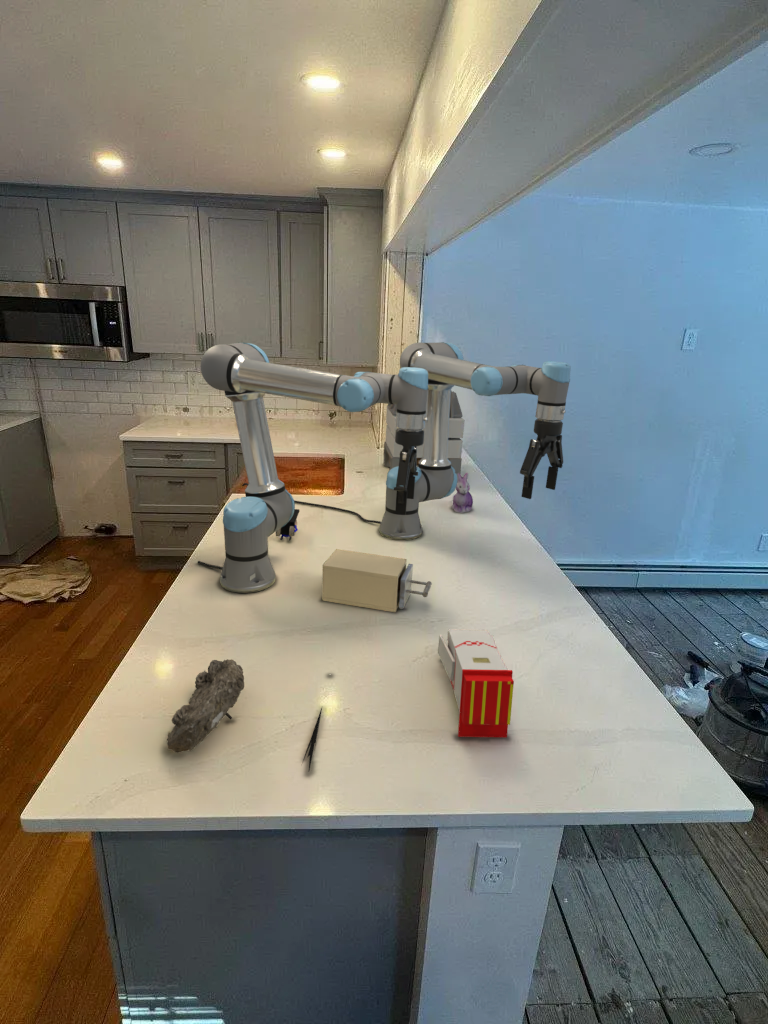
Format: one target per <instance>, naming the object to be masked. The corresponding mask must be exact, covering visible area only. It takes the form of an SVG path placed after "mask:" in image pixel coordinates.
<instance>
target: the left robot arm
mask: <svg viewBox="0 0 768 1024" xmlns="http://www.w3.org/2000/svg"><path fill="white" fill-rule="evenodd" d="M199 365H200V372H201V376H202V377H203V380H204V382H206V384H208V385H209V386H210V387H211V388H213V389H215V390H218V391H223V392H224V396H225V397H226V398H227V399H228V400H230V402H231V403H232V407H233V412H234V417H235V422H236V427H237V428H236V429H237V432H238V438H239V443H240V448H241V452H242V453H241V454H242V457H243V463H244V467H245V473H246V477H247V484H249V485H248V486H247V485H246V488H245V489H244V494H245V496H242V497H240V498H239V497H237V498H235V499H234V498H233V499H232V500H230V501H229V502H228V503H227V504H226V505H225V506H224V508H223V512H222V513H223V514H222V524H223V534H224V535H223V536H224V553H225V554H224V555H225V557H224V558H225V559H224V561H223V563H222V566H219V565H216V564H215V565H214V564H210V563H207V562H203V561H201V560H197V564H199V565H201V566H204V567H207V568H211V569H216V570H220V571H221V572H220V575H219V583H220V586H221V587H222V588H223V589H224V590H226V591H228V592H232V593H238V594H249V593H257V592H260V591H264V590H266V589H268V588H270V587H272V586H273V585H274V584H275V582H276V571H275V568H274V566H273V563H272V561H271V558H270V556H269V537H270V536H272V535H273V534H275V533H276V531H277V530H278V529H280V528H282V527H283V526H285V525H286V524H287V523H288V522H289V520H290V519H291V518H292V516H293V514H294V510H295V509H296V505H295V504H296V503H294V501H295V499H294V497H293V495H292V494H291V493H290V492H289V491H288V489H286V486H285V485H286V484H285V482H284V481H282V480H280V479H279V477H278V470H277V466H276V465H277V464H276V459H275V456H274V455H275V454H274V449H273V444H272V443H273V442H272V437H271V433H270V428H269V422H268V416H267V412H266V406H265V400H264V396H265V395H273V396H279V397H284V398H291V399H296V400H301V401H305V402H307V401H308V402H313V403H318V404H325V405H329V406H336V407H340V408H342V409H343V410H344V411H346V412H349V413H360V412H363V411H366V410H367V409H368V408H370V407H372V406H374V405H376V404H387V405H388V404H396V405H397V414H396V427H397V429H396V433H395V442H396V443H397V444H399V445H402V446H403V449H402V451H400V460H399V467H398V475H397V482H396V487H394V490H395V491H397V494H396V510H395V514H401V515H406V505H407V499H414V488H415V476H418V472H416V471H417V467H418V466H417V446H421V445H422V444H423V443H424V431H423V430H422V429H424V428H425V421H427V420H428V419H427V417H425V415H426V414H425V413H426V404H427V393H428V372H427V370H425V369H423V368H415V367H403V368H401V367H400V368H399V371H398V373H397V374H391V373H390V374H389V373H380V372H372V371H357V372H355V373H354V375H353V376H352V375H351V376H350V375H346V374H339V373H334V372H328V371H322V370H315V369H311V368H303V367H298V366H291V365H284V364H279V363H273V362H270V360H269V358H268V356H267V353H266V352H265V351H264V350H263V349H261V347H260V346H258V345H256V344H254V343H251V342H236V343H224V344H223V343H222V344H216V345H212V347H210V348H208V349H207V350H205V352H204V353H203V355H202V357H201V360H200V364H199ZM400 485H402V486H400Z"/></svg>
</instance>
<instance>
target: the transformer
mask: <svg viewBox="0 0 768 1024" xmlns="http://www.w3.org/2000/svg"><path fill="white" fill-rule="evenodd" d="M385 414H386V415H385V423H386V428H385V438H384V442H383V466H384V467H388V468H389V471H390V470H391V469H392V468H394V467H397V466H399V460H400V451H402V449H403V446H402V445H399V444H397V443H396V442H395V433H396V429H397V427H396V414H397V405H396V404H387V405H386V413H385ZM464 429H465V419H464V418H463V411H462V408H461V405H460V402H459V398H458V395H457V392H455V391H453V390H451V394H450V413H449V433H448V452H447V458H448V460H449V461H450V462H451V466H452V467H453V468H454V469H455V473H456V474H458V473H460V475H462V474H461V472H462V461H463V460H462V453H463V442H464V441H463V440H462V439H463V438H464V431H465V430H464ZM422 430H423V431H424V429H422ZM423 444H424V443H423ZM423 444H422V445H421V446H417V467H418V463H419V461H420V460H421V459H422V458H423ZM457 483H458V479H457Z"/></svg>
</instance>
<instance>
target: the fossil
mask: <svg viewBox="0 0 768 1024" xmlns="http://www.w3.org/2000/svg"><path fill="white" fill-rule="evenodd" d="M243 670H244V669H243V667H242V665H240V664H237V662H236V661H235V660H234V659H232V658H231V659H227V658H226V659H224V660H223V661H222V660H217V659H212V660H211V661H210V663H209V665H208V666H207V671H201V672H199V673H198V674H197V675H196V676H195V680H194V684H195V685H194V687H195V689H194V690H193V693H192V694H191V697H190V698H189V700H188V704H184V705H182V706H181V707H180V709H177V710H176V711H175V713H174V715H173V716H172V718H171V723H172V724H173V727H172V730H171V731H170V732H168V734H167V738H166V741H167V742H166V745H167V749H168V750H169V751H173V752H174V753H176V754H178V753H182V752H188V751H189V752H192V751H193V750H195V748H196V747H197V746H199V744H200V743H201V742H203V741H204V740H205V739H206V738H207V737H208V736H209V735H210V734H211V733H212V732H214V730H215V729H217V727H218V726H219V724H220V722H221V721H222V720H223V719H224V718H225V716H226V717H227V719H229V720H233V717H232V715H230V714H229V710H230V709H231V708H234V706H235V704H236V703H237V702H238V699H239V697H240V695H241V693H242V691H243V690H245V689H244V688H245V675H244V671H243Z"/></svg>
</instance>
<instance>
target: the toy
mask: <svg viewBox="0 0 768 1024" xmlns="http://www.w3.org/2000/svg"><path fill="white" fill-rule="evenodd" d="M446 640H447V643H446V641H445V639H444V636H443V635H442V634H439V637H438V646H437V656H438V657H439V659H440V661H441V663H442V666H443V668H444V670H445V672H446V674H447V677H448V679H449V681H450V684H451V687H452V690H453V693H454V697H455V701H456V705H457V708H458V711H459V714H458V715H459V716H458V730H457V731H458V732H457V737H458V738H508V731H509V726H510V725H511V717H512V707H513V697H514V696H513V695H514V684H515V680H514V679H513V673H514V671H513V670H512V669H508V667H507V665H506V662H505V661H504V659H503V658H502V655H501V653H500V651H499V649H498V647H497V643H496V639H495V637H494V635H493V634H491V632H490V631H489V629H467V628H466V629H465V628H463V629H461V628H460V629H459V628H448V630H447V639H446Z"/></svg>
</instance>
